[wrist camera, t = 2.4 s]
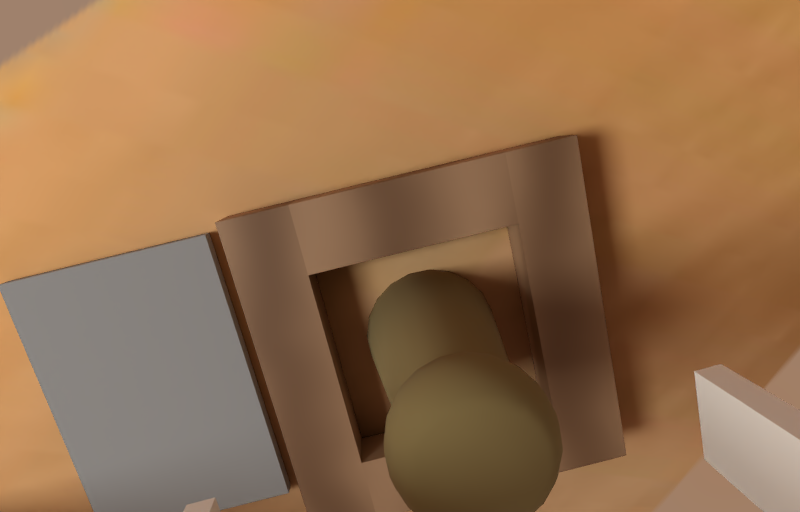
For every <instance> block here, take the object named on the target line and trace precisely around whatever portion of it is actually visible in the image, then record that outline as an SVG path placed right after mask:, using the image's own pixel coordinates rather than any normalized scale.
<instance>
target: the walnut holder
mask: <svg viewBox="0 0 800 512" xmlns="http://www.w3.org/2000/svg"><path fill="white" fill-rule="evenodd" d="M215 224H216V227H217V230H218V233H219V237H220V240H221V243H222V246H223V249H224V252H225V255H226V259H227V262H228V265H229V268H230V271H231V274H232V277H233V281H234V284H235V287H236V290H237V293H238V296H239V299H240V303H241V306H242V309H243V312H244V315H245V318H246V321H247V325H248V328H249V331H250V334H251V337H252V340H253V343H254V347H255V350H256V353H257V356H258V359H259V362H260V365H261V369H262V372H263V375H264V378H265V381H266V384H267V387H268V391H269V394H270V397H271V400H272V403H273V406H274V409H275V413H276V416H277V419H278V422H279V425H280V428H281V431H282V435H283V438H284V441H285V444H286V447H287V450H288V453H289V457H290V460H291V463H292V466H293V469H294V472H295V476H296V479H297V482H298V485H299V488H300V491H301V494H302V498H303V501H304V504H305V507H306V510H307V512H406V511H410V509H409V508H408V507H407V505H406V504H405V502H404V501H403V499H402V497H401V496H400V494H399V493H398V491H397V490H396V488H395V487H394V485H393V483H392V481H391V479H390V476H389V472H388V468H387V463H386V459H385V455H384V434H385V433H382V434H378V435H374V436H370V437H366V438H361V434H360V431H359V427H358V424H357V420H356V416H355V413H354V409H353V406H352V402H351V399H350V395H349V392H348V388H347V384H346V381H345V377H344V374H343V370H342V367H341V363H340V359H339V356H338V352H337V349H336V345H335V342H334V338H333V335H332V331H331V327H330V324H329V320H328V317H327V313H326V310H325V306H324V302H323V299H322V295H321V292H320V288H319V285H318V281H317V277H316V273H320V272H324V271H328V270H332V269H336V268H340V267H344V266H348V265H353V264H357V263H361V262H365V261H369V260H373V259H377V258H381V257H385V256H389V255H393V254H397V253H401V252H405V251H410V250H414V249H418V248H422V247H426V246H430V245H434V244H438V243H442V242H446V241H450V240H454V239H458V238H463V237H467V236H471V235H475V234H479V233H483V232H487V231H491V230H495V229H499V228H503V227H508V233H509V238H510V243H511V248H512V253H513V259H514V264H515V269H516V274H517V280H518V285H519V290H520V295H521V301H522V306H523V311H524V316H525V321H526V327H527V332H528V337H529V342H530V348H531V353H532V358H533V363H534V369H535V374H536V379H537V383H538V384H539V386H540V387H541V388H542V389H543V391H544V392H545V394H546V396H547V397H548V399H549V401H550V403H551V405H552V407H553V408H554V410H555V412H556V414H557V417H558V422H559V426H560V432H561V439H562V446H563V453H562V458H561V463H560V468H559V472H563V471H567V470H571V469H574V468H578V467H582V466H586V465H590V464H594V463H598V462H602V461H606V460H610V459H614V458H618V457H621V456H625V455H626V449H625V443H624V437H623V430H622V424H621V417H620V411H619V404H618V398H617V391H616V385H615V378H614V372H613V365H612V359H611V353H610V346H609V340H608V333H607V327H606V320H605V314H604V307H603V301H602V294H601V288H600V281H599V275H598V268H597V262H596V256H595V249H594V243H593V236H592V230H591V223H590V217H589V210H588V204H587V197H586V191H585V184H584V178H583V171H582V165H581V159H580V152H579V146H578V139H577V135H568V136H557V137H553V138H549V139H545V140H540V141H536V142H532V143H528V144H524V145H520V146H516V147H512V148H507V149H503V150H499V151H495V152H491V153H487V154H483V155H479V156H474V157H470V158H466V159H462V160H458V161H454V162H450V163H446V164H441V165H437V166H433V167H429V168H425V169H421V170H417V171H413V172H408V173H404V174H400V175H396V176H392V177H388V178H384V179H380V180H375V181H371V182H367V183H363V184H359V185H355V186H351V187H347V188H342V189H338V190H334V191H330V192H326V193H322V194H318V195H314V196H309V197H305V198H301V199H297V200H293V201H289V202H285V203H281V204H276V205H272V206H268V207H264V208H260V209H256V210H252V211H248V212H243V213H239V214H235V215H231V216H227V217H225V218H223V219H221V220H219V221H217V222H215Z"/></svg>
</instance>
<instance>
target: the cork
mask: <svg viewBox="0 0 800 512" xmlns="http://www.w3.org/2000/svg"><path fill="white" fill-rule="evenodd" d="M367 338H368V343H369V347H370V351H371V355H372V358H373V360H374V363H375V365H376V368H377V370H378V373H379V376H380V378H381V381H382V383H383V386H384V388H385V391H386V393H387V396H388V399H389V401H390V404H391V408H390V410H389V412H388V414H387V417H386V425H385V434H384V455H385V459H386V463H387V468H388V472H389V476H390V479H391V481H392V483H393V485H394V487H395V488H396V490H397V491H398V493H399V494H400V496H401V497H402V499H403V501H404V502H405V504H406V505H407V507H408V508H409V509H410V510H412V511H413V512H535V511H536V510H537V509H538V508H539V507H540V506H541V505H542V504H543V503H544V502H545V500H546V498H547V497H548V495H549V493H550V491H551V490H552V488H553V486H554V484H555V482H556V479H557V477H558V473H559V468H560V463H561V458H562V453H563V446H562V439H561V432H560V426H559V422H558V417H557V414H556V412H555V410H554V408H553V407H552V405H551V403H550V401H549V399H548V397H547V396H546V394H545V392H544V391H543V389H542V388H541V387H540V386H539V384H538V383H537V382H536V381H534V380H533V379H532V378H531V377H530V376H529V375H528V374H527V373H525V372H524V371H523V370H522V369H521V368H520V367H518V366H516V365H514V364H512V363H510V362H509V360H508V357H507V354H506V351H505V348H504V346H503V343H502V340H501V337H500V334H499V331H498V328H497V325H496V323H495V320H494V317H493V314H492V311H491V309H490V307H489V305H488V303H487V301H486V299H485V298H484V296H483V294H482V292H480V291H479V290H478V289H477V288H476V287H475V286H474V285H473V284H472V283H471V282H469V281H468V280H467V279H465V278H462V277H460V276H458V275H456V274H453V273H451V272H447V271H437V270H426V271H421V272H416V273H411V274H408V275H406V276H405V277H403V278H401V279H399V280H398V281H396V282H394V283H392V284H391V285H390V286H389V287H388V288H387V289H386V290H385V291H384V292H383V293H382V294H381V296H380V297H379V298H378V299H377V301H376V303H375V305H374V307H373V309H372V312H371V314H370V316H369V322H368V331H367Z"/></svg>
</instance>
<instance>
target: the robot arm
mask: <svg viewBox="0 0 800 512" xmlns="http://www.w3.org/2000/svg"><path fill="white" fill-rule="evenodd" d="M694 374H695V383H696V391H697V400H698V408H699V417H700V426H701V434H702V443H703V452H704V459H705V460H706V461H707V462H708V463H709V464H710V465H711V466H712V467H714V468H715V469H716V470H717V471H718V472H719V473H720V474H721V475H723V476H724V477H725V478H726V479H727V480H728V481H729V482H730V483H732V484H733V485H734V486H735V487H736V488H737V489H738V490H739V491H741V492H742V493H743V494H744V495H745V496H746V497H747V498H749V499H750V500H751V501H752V502H753V503H754V504H755V505H757V506H758V507H759V508H760V509H761V510H762V511H763V512H800V410H799V409H797V408H795V407H793V406H792V405H790V404H789V403H787V402H785V401H784V400H782V399H780V398H778V397H777V396H775V395H773V394H772V393H770V392H768V391H766V390H765V389H763V388H761V387H760V386H758V385H756V384H754V383H753V382H751V381H749V380H748V379H746V378H744V377H742V376H741V375H739V374H737V373H736V372H734V371H732V370H730V369H729V368H727V367H725V366H724V365H722V364H719V365H716V366H712V367H708V368H704V369H700V370H697V371H694ZM183 512H220V509H219V506H218V504H217V501H216V498H211V499H207V500H203V501H199V502H196V503H192V504H188V505H186V507H185V509H184V511H183Z"/></svg>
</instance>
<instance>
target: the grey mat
mask: <svg viewBox="0 0 800 512" xmlns="http://www.w3.org/2000/svg"><path fill="white" fill-rule="evenodd" d="M0 292H1V294H2V296H3V299H4V301H5V303H6V306H7V308H8V310H9V313H10V315H11V318H12V320H13V322H14V325H15V327H16V329H17V332H18V334H19V336H20V339H21V341H22V343H23V346H24V348H25V351H26V353H27V355H28V358H29V360H30V362H31V365H32V367H33V369H34V372H35V374H36V376H37V379H38V381H39V384H40V386H41V388H42V391H43V393H44V395H45V398H46V400H47V402H48V405H49V407H50V409H51V412H52V414H53V417H54V419H55V421H56V424H57V426H58V428H59V431H60V433H61V435H62V438H63V440H64V443H65V445H66V447H67V450H68V452H69V454H70V457H71V459H72V461H73V464H74V466H75V468H76V471H77V473H78V476H79V478H80V480H81V483H82V485H83V487H84V490H85V492H86V494H87V497H88V499H89V501H90V504H91V506H92V509H93V511H94V512H183V511H184V509H185V507H186V505H188V504H192V503H196V502H199V501H203V500H207V499H211V498H216V501H217V504H218V506H219V509H220V510H223V509H227V508H231V507H235V506H239V505H243V504H247V503H251V502H255V501H259V500H263V499H267V498H271V497H275V496H279V495H283V494H286V493H289V489H290V482H289V479H288V476H287V473H286V470H285V467H284V463H283V460H282V457H281V454H280V451H279V448H278V445H277V442H276V439H275V436H274V432H273V429H272V426H271V423H270V420H269V417H268V414H267V411H266V408H265V404H264V401H263V398H262V395H261V392H260V389H259V386H258V383H257V380H256V377H255V373H254V370H253V367H252V364H251V361H250V358H249V355H248V352H247V349H246V345H245V342H244V339H243V336H242V333H241V330H240V327H239V324H238V321H237V317H236V314H235V311H234V308H233V305H232V302H231V299H230V296H229V293H228V290H227V286H226V283H225V280H224V277H223V274H222V271H221V268H220V265H219V262H218V258H217V255H216V252H215V249H214V246H213V243H212V240H211V237H210V234H209V233H206V234H201V235H197V236H193V237H189V238H185V239H181V240H177V241H173V242H168V243H164V244H160V245H156V246H152V247H148V248H144V249H140V250H136V251H131V252H127V253H123V254H119V255H115V256H111V257H107V258H103V259H98V260H94V261H90V262H86V263H82V264H78V265H74V266H70V267H66V268H61V269H57V270H53V271H49V272H45V273H41V274H37V275H33V276H28V277H24V278H20V279H16V280H12V281H8V282H5V283H2V284H0Z"/></svg>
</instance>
